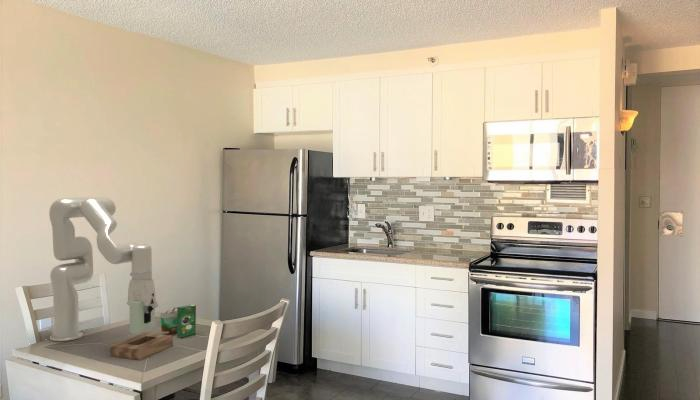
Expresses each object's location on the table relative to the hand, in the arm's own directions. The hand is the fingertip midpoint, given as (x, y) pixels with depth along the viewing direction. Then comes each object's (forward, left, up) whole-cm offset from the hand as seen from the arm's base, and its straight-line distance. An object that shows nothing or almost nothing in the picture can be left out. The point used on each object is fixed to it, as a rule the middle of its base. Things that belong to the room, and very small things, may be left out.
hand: (142, 321), depth 225 cm
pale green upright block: (0, 0, -3) cm, 3 cm away
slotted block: (0, 0, -12) cm, 12 cm away
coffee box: (+4, +24, -12) cm, 27 cm away
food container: (-4, +26, -12) cm, 29 cm away
